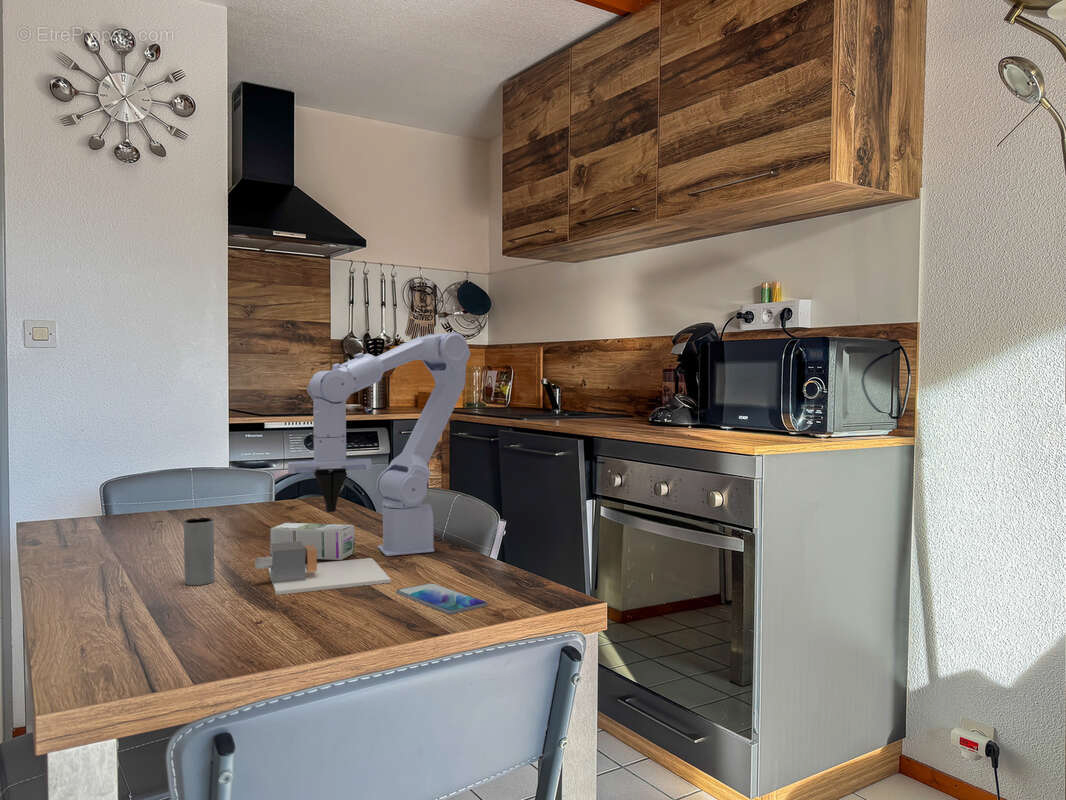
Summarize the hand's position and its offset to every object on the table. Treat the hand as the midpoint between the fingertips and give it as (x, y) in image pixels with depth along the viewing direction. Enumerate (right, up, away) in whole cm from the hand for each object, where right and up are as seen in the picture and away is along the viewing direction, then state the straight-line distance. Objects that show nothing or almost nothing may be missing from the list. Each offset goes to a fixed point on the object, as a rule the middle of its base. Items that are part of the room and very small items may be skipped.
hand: (330, 511), depth 141 cm
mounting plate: (+2, -10, -10) cm, 14 cm away
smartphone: (+23, -11, -23) cm, 34 cm away
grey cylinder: (-18, -10, -13) cm, 25 cm away
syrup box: (-12, -6, +6) cm, 15 cm away
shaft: (-4, -8, -12) cm, 15 cm away
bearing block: (-4, -10, -12) cm, 16 cm away
